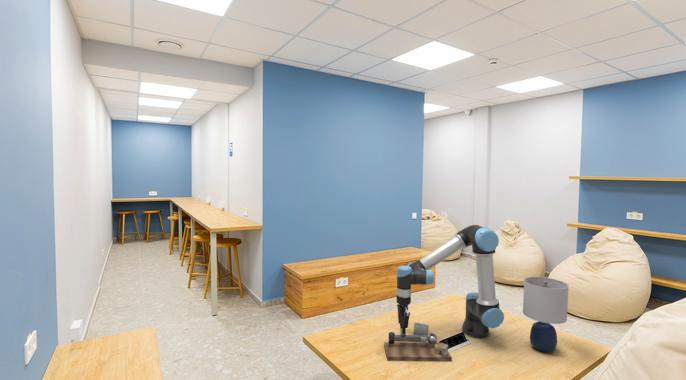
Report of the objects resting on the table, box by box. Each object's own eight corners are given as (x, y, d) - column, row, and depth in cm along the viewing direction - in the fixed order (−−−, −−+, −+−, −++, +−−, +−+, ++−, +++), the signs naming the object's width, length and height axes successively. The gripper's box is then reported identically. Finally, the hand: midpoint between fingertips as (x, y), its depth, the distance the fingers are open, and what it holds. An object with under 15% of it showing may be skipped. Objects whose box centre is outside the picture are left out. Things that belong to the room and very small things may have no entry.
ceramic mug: (428, 340, 197) (428, 326, 197) (413, 338, 199) (413, 325, 199) (427, 332, 208) (428, 319, 207) (413, 330, 209) (413, 318, 209)
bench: (443, 346, 191) (443, 335, 190) (451, 361, 176) (452, 349, 175) (383, 345, 191) (384, 334, 190) (387, 360, 176) (387, 348, 175)
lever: (435, 340, 189) (435, 331, 189) (438, 345, 184) (438, 336, 184) (387, 340, 189) (388, 331, 189) (389, 345, 184) (389, 335, 184)
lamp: (559, 343, 195) (562, 278, 193) (570, 362, 176) (573, 289, 174) (519, 337, 202) (521, 274, 200) (524, 354, 183) (527, 284, 181)
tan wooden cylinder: (441, 350, 182) (441, 343, 182) (443, 354, 178) (443, 347, 178) (433, 350, 182) (433, 343, 182) (435, 354, 178) (435, 347, 178)
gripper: (392, 291, 194) (392, 333, 195) (401, 300, 181) (400, 345, 182) (405, 291, 195) (404, 332, 197) (415, 299, 183) (414, 343, 184)
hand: (402, 338), depth 189 cm, fingers closed
